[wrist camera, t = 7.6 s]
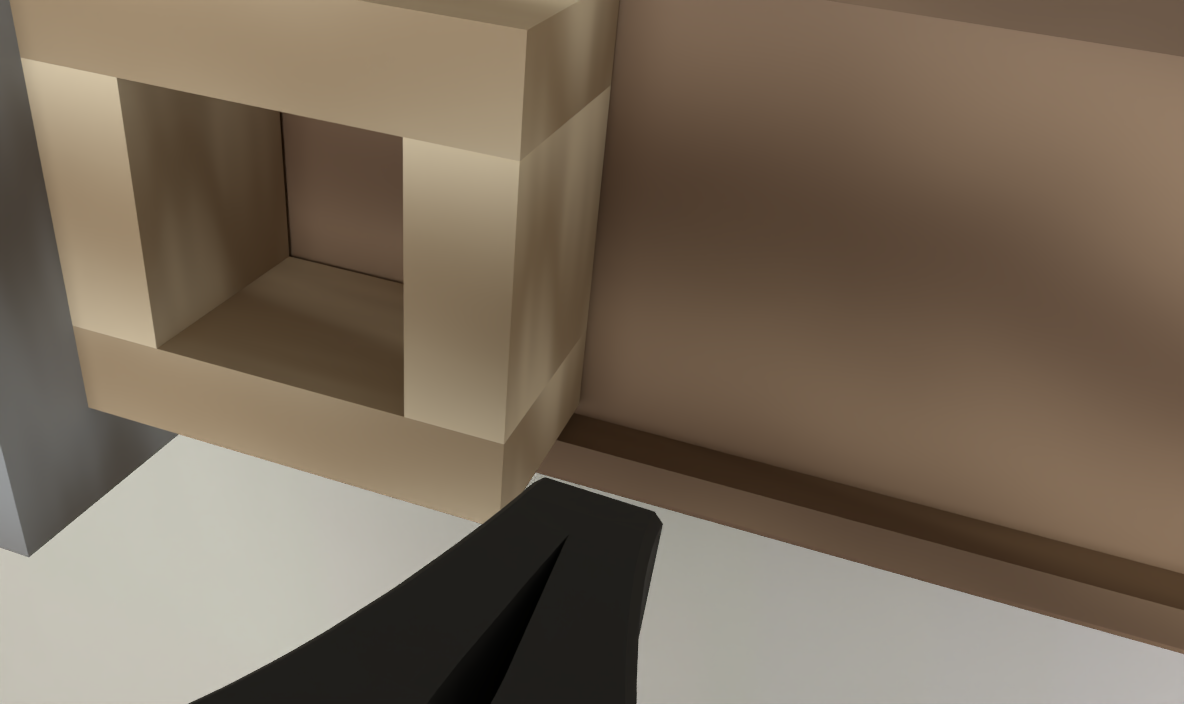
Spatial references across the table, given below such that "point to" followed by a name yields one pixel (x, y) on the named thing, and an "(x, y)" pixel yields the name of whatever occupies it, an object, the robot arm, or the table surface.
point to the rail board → (798, 292)
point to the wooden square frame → (315, 291)
